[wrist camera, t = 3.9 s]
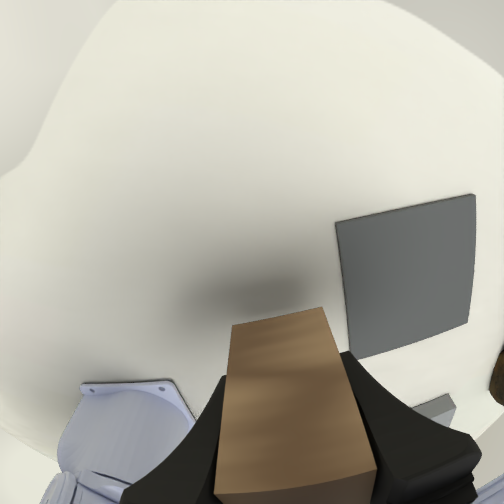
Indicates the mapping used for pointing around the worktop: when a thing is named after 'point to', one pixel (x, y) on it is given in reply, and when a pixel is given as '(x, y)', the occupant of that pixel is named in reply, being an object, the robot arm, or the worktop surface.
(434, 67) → the worktop surface
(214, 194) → the worktop surface
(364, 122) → the worktop surface
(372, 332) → the mat
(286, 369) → the tan wooden post
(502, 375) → the hand tool
